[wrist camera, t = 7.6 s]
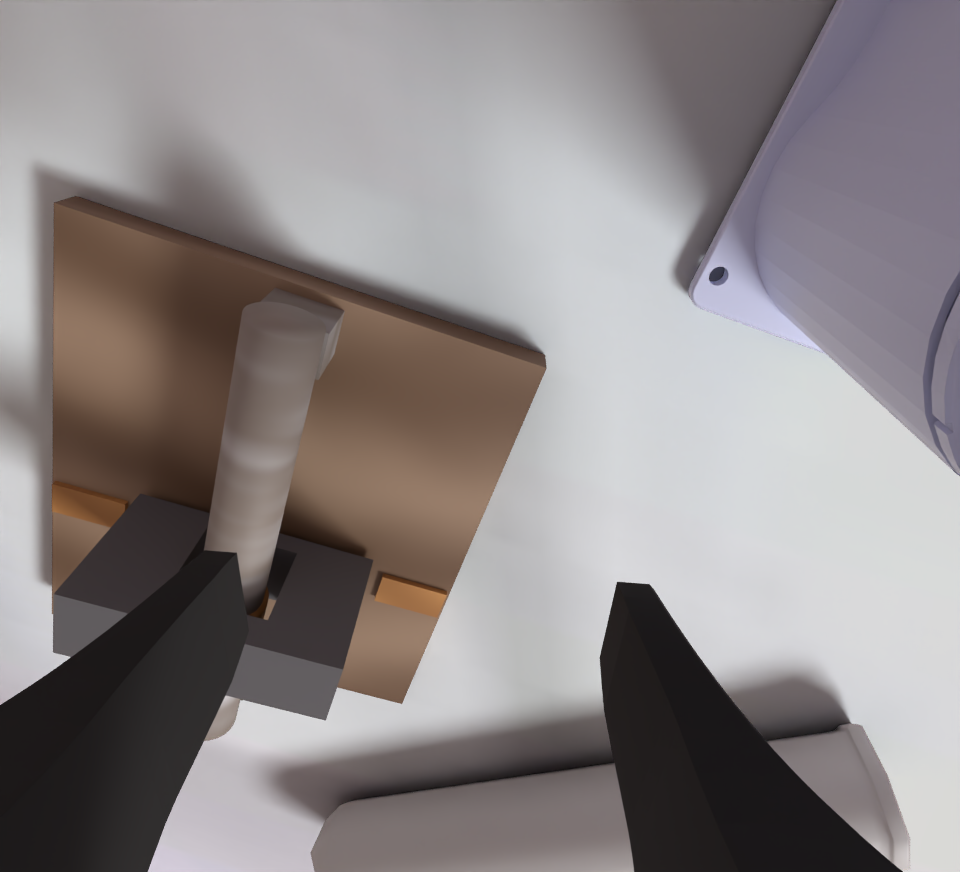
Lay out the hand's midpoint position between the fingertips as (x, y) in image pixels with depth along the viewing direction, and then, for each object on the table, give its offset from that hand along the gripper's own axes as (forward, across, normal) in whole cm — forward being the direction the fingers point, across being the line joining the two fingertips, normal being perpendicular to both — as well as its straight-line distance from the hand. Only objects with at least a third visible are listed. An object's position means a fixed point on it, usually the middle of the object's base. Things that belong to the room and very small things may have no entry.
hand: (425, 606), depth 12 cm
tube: (+10, -6, +20) cm, 23 cm away
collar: (+8, +7, +6) cm, 12 cm away
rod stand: (+9, +6, +4) cm, 12 cm away
